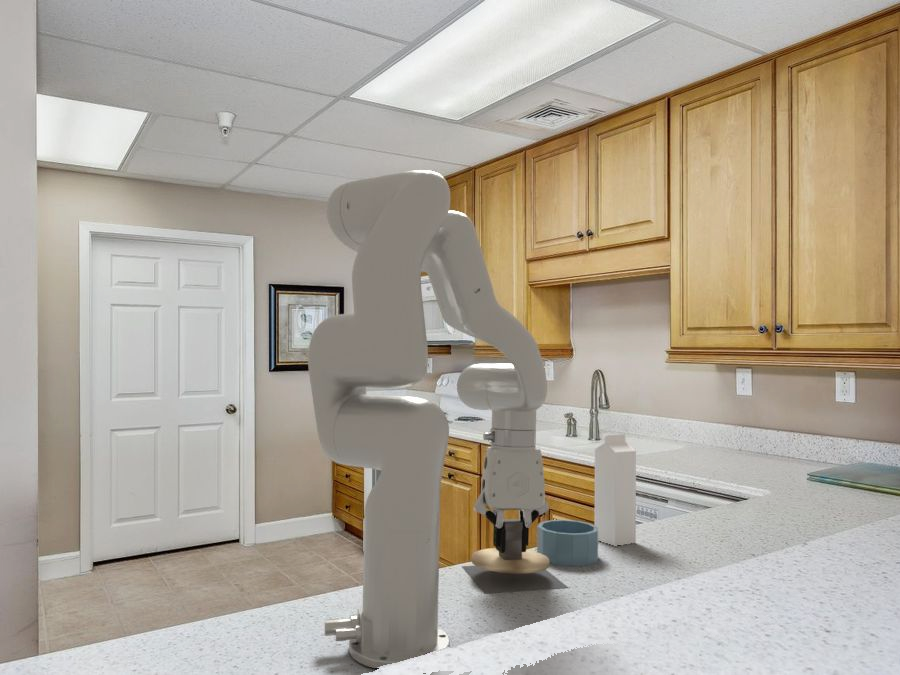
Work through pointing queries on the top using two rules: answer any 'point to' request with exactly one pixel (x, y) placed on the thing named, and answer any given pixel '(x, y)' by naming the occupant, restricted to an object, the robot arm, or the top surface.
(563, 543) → the bowl
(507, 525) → the lid
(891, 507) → the top surface
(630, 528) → the milk
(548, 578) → the mat
